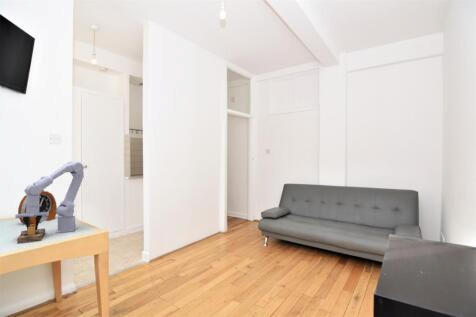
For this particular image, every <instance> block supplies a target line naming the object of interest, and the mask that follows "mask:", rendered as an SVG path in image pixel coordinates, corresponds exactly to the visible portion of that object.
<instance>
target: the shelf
mask: <svg viewBox="0 0 476 317" xmlns="http://www.w3.org/2000/svg"><path fill="white" fill-rule="evenodd" d="M35 233H37V234H35V235H28V230H27V229H25V230H21V231H20V235H19V236H17V240H16V242H17V245H19V244H25V243H34V242H41V241H42V240H43V238H44V236H45V234H46V228H38V229H36V230H35Z"/></svg>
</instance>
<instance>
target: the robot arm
mask: <svg viewBox="0 0 476 317" xmlns="http://www.w3.org/2000/svg"><path fill="white" fill-rule="evenodd" d="M84 169H85V166H84V164H82V163H81V162H79V161H74V162H73V161H68V162H66V163H64V164H63V165H62V166H60V167H59V168H58V169H57V170H55V171H54V172H52V173H51V174H50V175H44V176H40V178H39V179H38V180H36V181H33V182H32V184H30V185H29V184H28V185H27V186H26V187H25V189H24V193H25V195H27V198H26V213H24V214H18V213H17V214H15V219H19V218H23V221H24V223H25V224H24V223H23V224H24V225H25V227H26V230H28V227H29V226H30V225H31V224H30V217H36V218H35V219H36V226H35V230H36V229H39V228H38V227H39V222H40V220H41V218H42V216H49V212H39V198H40V197H39V195H40V193H41V192H42V190H45V189H46V188H47V187H49V186H50V185H52V184H53V182H54V180H56V179H57V178H60V177H61V176H62V175H65V173H70V175H71V176H72V180H71V182H70V184H69V187H68V189H67V192H66V194H65V196H64V199H63V201H61V202H60V203H59V205H58V206H57V209H56V215H57V229H56V232H55V233H56V234H58V233H66V232H67V233H68V232H75V231H76V227H77V225H76V215H74V212H75V206H76V205H75V204H74V203H75V200H76V197H77V195H78V192H79V190H80V187H81V184H82V182H83V180H84ZM72 215H73V216H72Z"/></svg>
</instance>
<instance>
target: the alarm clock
mask: <svg viewBox="0 0 476 317" xmlns="http://www.w3.org/2000/svg"><path fill="white" fill-rule="evenodd" d="M39 197H40V198H39V212H49V216H42V218H41V220H40V222H39V224H42V223H43V222H46V221H47V222H50V221H53V220H55V218H56V215H57V213H56V209H57V207H58V206H57V201H56V198H55V196H54V195H53V194H52V193H51V192H50V191H48V190H47V191H45V189H43V190H42V192H41V193H40V195H39ZM26 198H27V194H25V195H24V196H23V197H22V199H21V200H20V202H19V205H18V210H17V214H24V213H26ZM35 218H36V217H30V225H32V224H36V219H35ZM18 219H19V221H20V222H21V224H22V223H23V224H24V225H26V224H25V223H24V221H23V218H18ZM39 224H38V225H39Z"/></svg>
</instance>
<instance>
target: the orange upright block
mask: <svg viewBox="0 0 476 317" xmlns="http://www.w3.org/2000/svg"><path fill="white" fill-rule="evenodd" d="M35 226H36V224H30V226H29V227H28V235H35V234H37V233H35Z"/></svg>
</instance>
